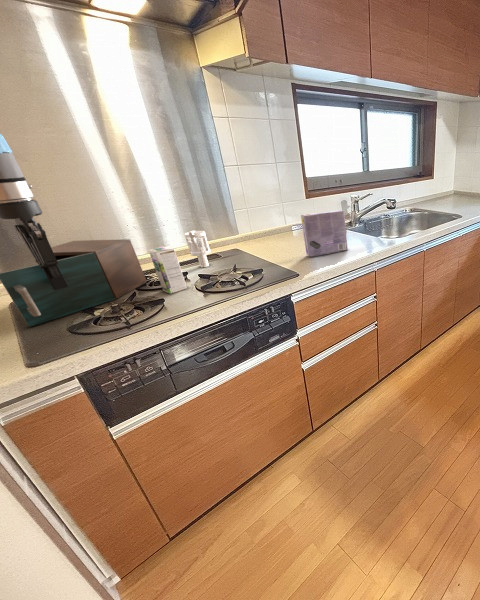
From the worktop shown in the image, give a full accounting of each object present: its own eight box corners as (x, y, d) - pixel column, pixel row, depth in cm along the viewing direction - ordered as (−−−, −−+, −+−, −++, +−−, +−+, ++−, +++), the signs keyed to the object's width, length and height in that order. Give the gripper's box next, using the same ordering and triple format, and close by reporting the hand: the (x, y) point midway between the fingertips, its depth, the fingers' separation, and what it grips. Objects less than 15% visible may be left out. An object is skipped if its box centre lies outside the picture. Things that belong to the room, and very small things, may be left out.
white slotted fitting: (192, 269, 129) (179, 232, 123) (199, 264, 135) (187, 228, 129) (210, 268, 130) (199, 231, 124) (216, 262, 136) (206, 227, 130)
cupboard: (116, 298, 106) (95, 251, 99) (57, 299, 106) (31, 253, 99) (147, 282, 118) (130, 239, 111) (94, 283, 119) (73, 240, 112)
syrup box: (162, 290, 111) (146, 249, 104) (180, 284, 115) (166, 245, 109) (169, 294, 108) (154, 252, 101) (188, 288, 112) (174, 247, 106)
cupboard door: (122, 302, 102) (101, 255, 96) (35, 331, 87) (2, 277, 80) (113, 298, 105) (92, 252, 98) (28, 326, 90) (-4, 273, 83)
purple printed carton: (346, 247, 151) (341, 208, 144) (350, 249, 147) (346, 210, 140) (306, 255, 142) (299, 214, 134) (309, 258, 138) (303, 216, 130)
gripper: (43, 199, 80) (87, 287, 90) (27, 197, 86) (69, 279, 96) (-2, 204, 74) (51, 297, 84) (-16, 201, 80) (34, 288, 90)
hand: (60, 287), depth 90 cm, fingers closed
